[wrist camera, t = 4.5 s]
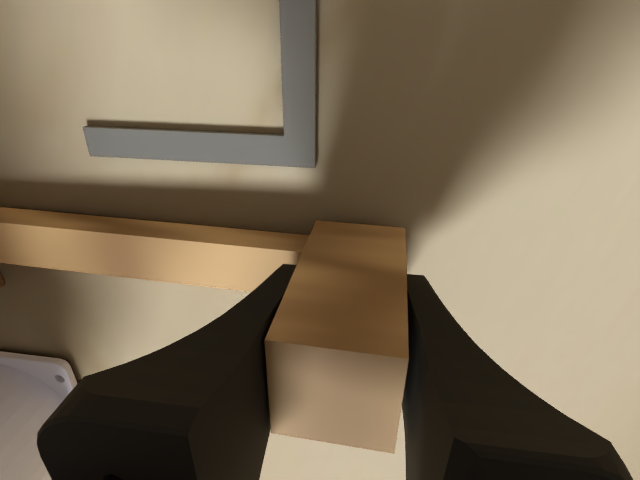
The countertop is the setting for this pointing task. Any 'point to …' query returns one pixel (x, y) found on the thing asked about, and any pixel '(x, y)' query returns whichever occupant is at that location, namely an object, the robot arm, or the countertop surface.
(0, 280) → the wooden bench
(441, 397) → the robot arm
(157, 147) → the tape bracket
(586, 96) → the countertop surface
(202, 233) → the oak crook
